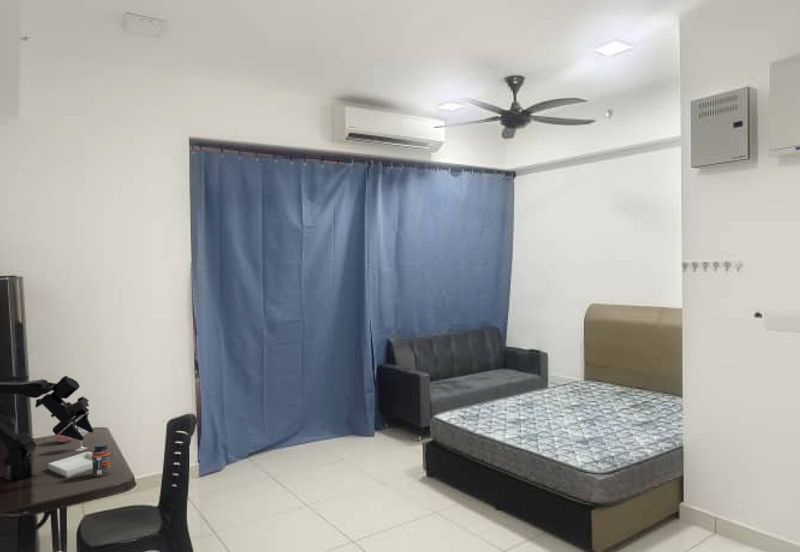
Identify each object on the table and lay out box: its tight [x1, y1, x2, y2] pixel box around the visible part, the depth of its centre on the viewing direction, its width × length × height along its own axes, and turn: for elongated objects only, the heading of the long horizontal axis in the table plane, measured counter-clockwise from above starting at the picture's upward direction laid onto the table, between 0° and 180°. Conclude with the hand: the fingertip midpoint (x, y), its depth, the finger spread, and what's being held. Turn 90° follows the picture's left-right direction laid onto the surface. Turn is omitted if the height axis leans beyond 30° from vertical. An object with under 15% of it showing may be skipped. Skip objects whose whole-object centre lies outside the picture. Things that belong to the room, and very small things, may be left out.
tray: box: [48, 451, 93, 478], centre depth 212 cm, size 15×15×2 cm
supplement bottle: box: [92, 442, 112, 478], centre depth 204 cm, size 6×6×11 cm
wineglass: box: [75, 422, 89, 452], centre depth 233 cm, size 6×6×12 cm
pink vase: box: [54, 432, 74, 444], centre depth 243 cm, size 8×8×12 cm
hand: (87, 435), depth 206 cm, fingers open, 9 cm apart
